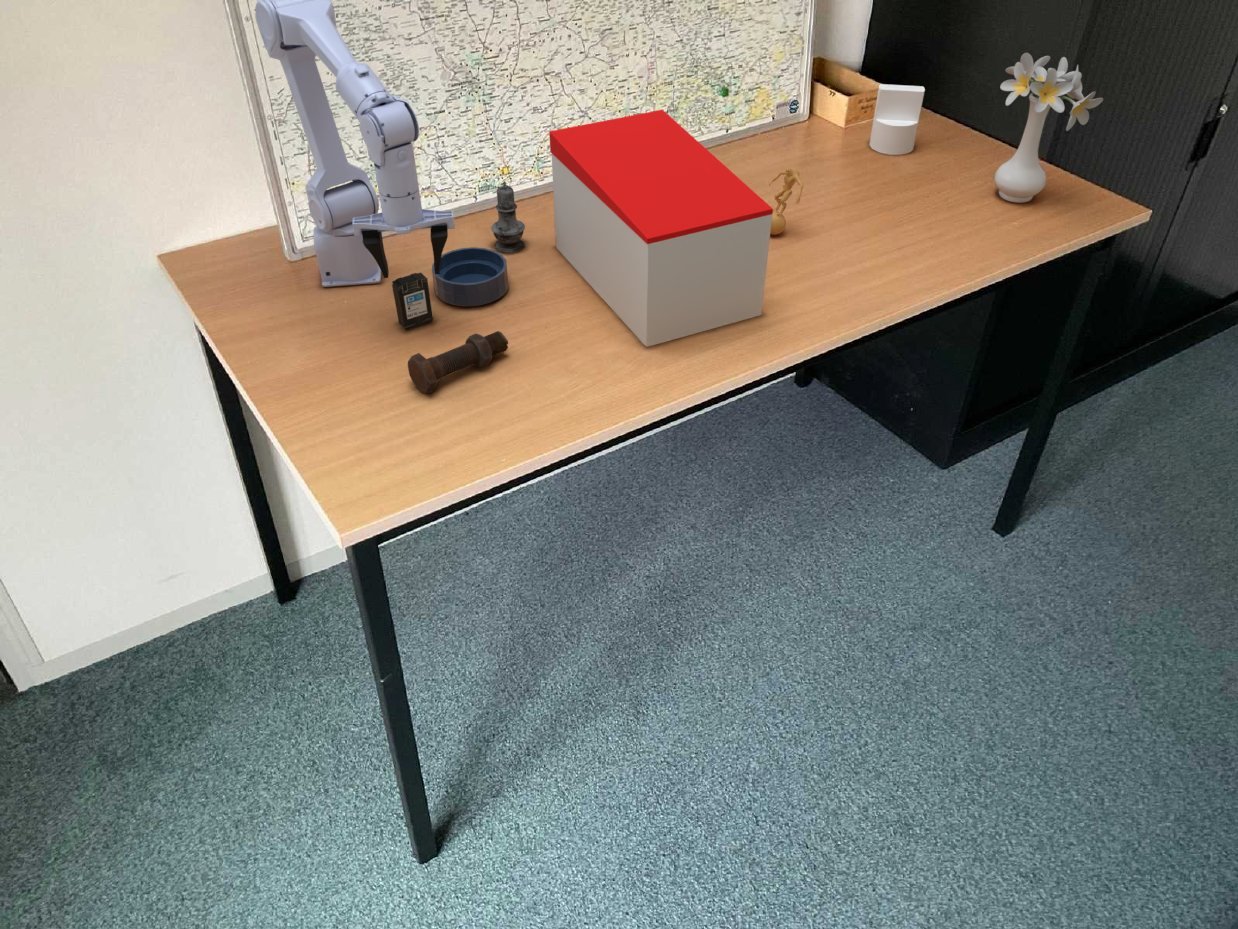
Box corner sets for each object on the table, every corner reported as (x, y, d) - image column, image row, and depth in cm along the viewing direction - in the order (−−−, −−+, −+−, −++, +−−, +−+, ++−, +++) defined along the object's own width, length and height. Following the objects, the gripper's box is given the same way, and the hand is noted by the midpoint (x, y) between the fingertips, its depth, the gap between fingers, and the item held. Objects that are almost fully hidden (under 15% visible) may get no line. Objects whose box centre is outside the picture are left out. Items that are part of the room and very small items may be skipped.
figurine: (750, 226, 182) (756, 163, 174) (777, 218, 184) (784, 155, 176) (778, 245, 176) (785, 181, 169) (805, 237, 179) (814, 173, 171)
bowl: (435, 311, 160) (432, 287, 157) (435, 273, 169) (431, 249, 166) (510, 305, 162) (508, 281, 159) (506, 268, 171) (504, 244, 168)
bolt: (507, 363, 152) (422, 399, 145) (489, 337, 153) (404, 371, 146) (517, 343, 147) (430, 379, 140) (499, 316, 148) (411, 351, 141)
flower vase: (1044, 224, 182) (1085, 86, 166) (958, 190, 193) (989, 56, 176) (1082, 203, 189) (1126, 67, 172) (997, 170, 199) (1030, 40, 183)
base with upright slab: (869, 153, 206) (879, 94, 198) (868, 135, 212) (878, 78, 205) (914, 156, 205) (926, 97, 197) (912, 138, 211) (923, 80, 203)
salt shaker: (521, 255, 174) (516, 190, 166) (488, 251, 175) (482, 187, 167) (530, 239, 178) (525, 175, 171) (498, 236, 179) (492, 172, 171)
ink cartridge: (404, 331, 156) (397, 286, 151) (398, 324, 157) (391, 280, 152) (433, 321, 158) (427, 277, 153) (427, 315, 159) (420, 270, 154)
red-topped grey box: (658, 221, 183) (661, 108, 170) (761, 314, 159) (774, 192, 146) (554, 246, 176) (548, 130, 163) (645, 347, 152) (647, 221, 139)
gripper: (345, 204, 140) (362, 290, 149) (450, 197, 141) (460, 282, 150) (348, 182, 145) (364, 266, 154) (449, 176, 147) (459, 259, 155)
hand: (411, 272), depth 152 cm, fingers open, 7 cm apart
